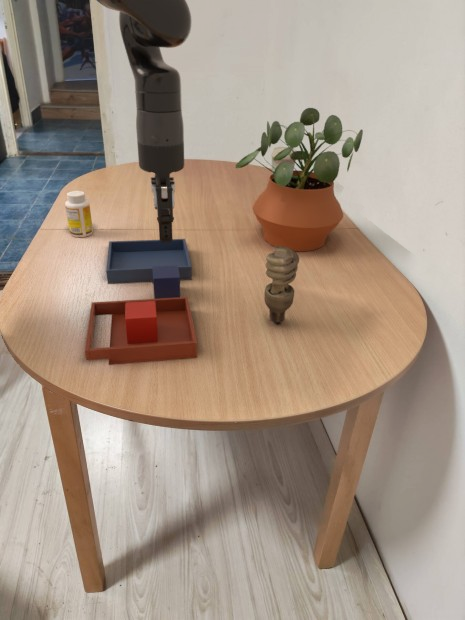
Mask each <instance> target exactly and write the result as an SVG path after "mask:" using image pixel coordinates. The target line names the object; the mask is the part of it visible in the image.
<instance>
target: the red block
mask: <svg viewBox="0 0 465 620" xmlns="http://www.w3.org/2000/svg"><path fill="white" fill-rule="evenodd" d="M125 324H126V334H127V343H142V342H156V341H158V334H157V316H156V303H155V301H145V302H127V303H125Z"/></svg>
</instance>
